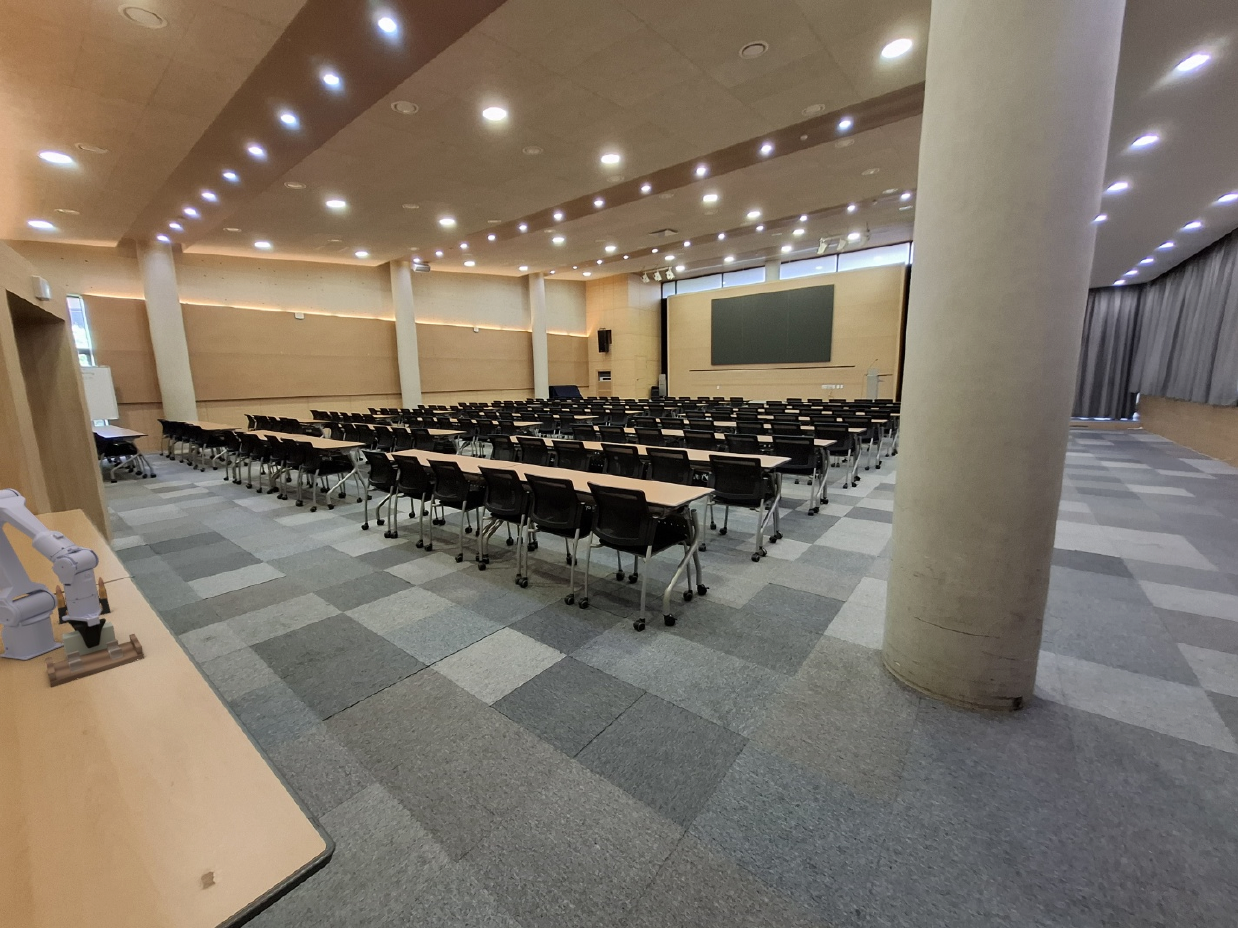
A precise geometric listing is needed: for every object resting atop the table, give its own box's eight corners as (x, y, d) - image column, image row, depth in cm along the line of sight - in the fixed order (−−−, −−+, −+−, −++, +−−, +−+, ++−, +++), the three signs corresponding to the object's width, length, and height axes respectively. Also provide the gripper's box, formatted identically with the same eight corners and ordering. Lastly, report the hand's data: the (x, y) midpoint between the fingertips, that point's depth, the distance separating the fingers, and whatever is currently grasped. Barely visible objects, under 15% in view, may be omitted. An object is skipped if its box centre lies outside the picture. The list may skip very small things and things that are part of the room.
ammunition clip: (59, 624, 147) (52, 586, 146) (60, 622, 149) (52, 584, 147) (110, 612, 155) (104, 576, 153) (110, 611, 156) (104, 575, 154)
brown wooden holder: (47, 669, 123) (45, 656, 122) (135, 643, 135) (133, 631, 135) (51, 687, 116) (48, 673, 115) (144, 658, 128) (142, 645, 128)
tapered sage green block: (65, 655, 129) (61, 634, 128) (114, 641, 136) (110, 621, 135) (67, 660, 127) (63, 638, 126) (116, 646, 134) (113, 625, 133)
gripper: (51, 595, 130) (60, 643, 132) (67, 607, 122) (77, 658, 124) (89, 586, 136) (97, 632, 138) (107, 597, 128) (115, 645, 130)
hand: (90, 644), depth 131 cm, fingers closed on tapered sage green block, 4 cm apart
